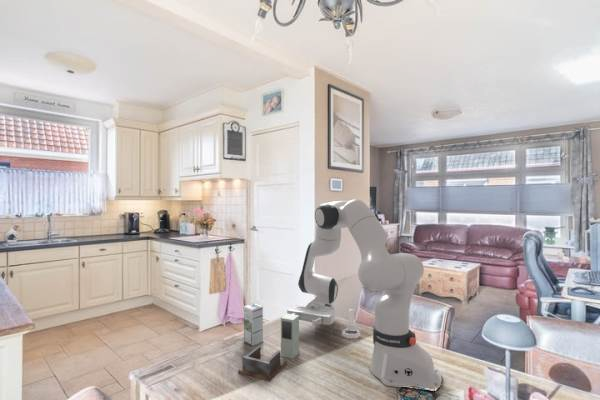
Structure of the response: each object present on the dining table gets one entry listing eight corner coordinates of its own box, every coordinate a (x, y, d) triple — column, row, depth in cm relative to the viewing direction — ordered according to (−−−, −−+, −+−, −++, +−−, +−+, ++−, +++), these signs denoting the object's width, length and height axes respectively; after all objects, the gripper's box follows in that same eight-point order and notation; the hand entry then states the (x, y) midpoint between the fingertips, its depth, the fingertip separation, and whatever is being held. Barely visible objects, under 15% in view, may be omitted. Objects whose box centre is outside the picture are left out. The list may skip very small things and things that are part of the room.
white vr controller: (355, 314, 144) (361, 310, 138) (356, 343, 136) (363, 339, 131) (339, 312, 142) (345, 307, 137) (340, 340, 135) (346, 337, 129)
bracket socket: (286, 363, 111) (286, 349, 111) (269, 381, 100) (269, 365, 100) (257, 356, 116) (257, 342, 116) (238, 372, 105) (238, 357, 105)
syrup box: (263, 341, 128) (263, 305, 128) (251, 346, 124) (251, 309, 124) (254, 337, 132) (254, 302, 132) (243, 341, 128) (243, 305, 128)
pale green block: (299, 352, 119) (299, 315, 119) (292, 359, 114) (292, 320, 114) (287, 349, 121) (287, 313, 121) (280, 356, 116) (280, 318, 116)
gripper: (294, 300, 145) (280, 310, 133) (337, 306, 137) (326, 317, 124) (294, 314, 145) (280, 325, 133) (337, 321, 137) (326, 333, 124)
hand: (303, 321), depth 128 cm, fingers open, 8 cm apart
